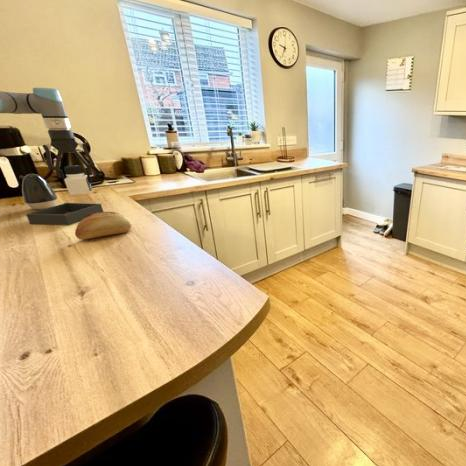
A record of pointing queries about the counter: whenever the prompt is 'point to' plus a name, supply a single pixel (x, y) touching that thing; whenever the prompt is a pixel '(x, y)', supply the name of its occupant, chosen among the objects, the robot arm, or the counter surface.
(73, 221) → the bin
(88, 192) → the medicine bottle
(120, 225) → the bread roll
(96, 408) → the counter surface
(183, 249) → the counter surface
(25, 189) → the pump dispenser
